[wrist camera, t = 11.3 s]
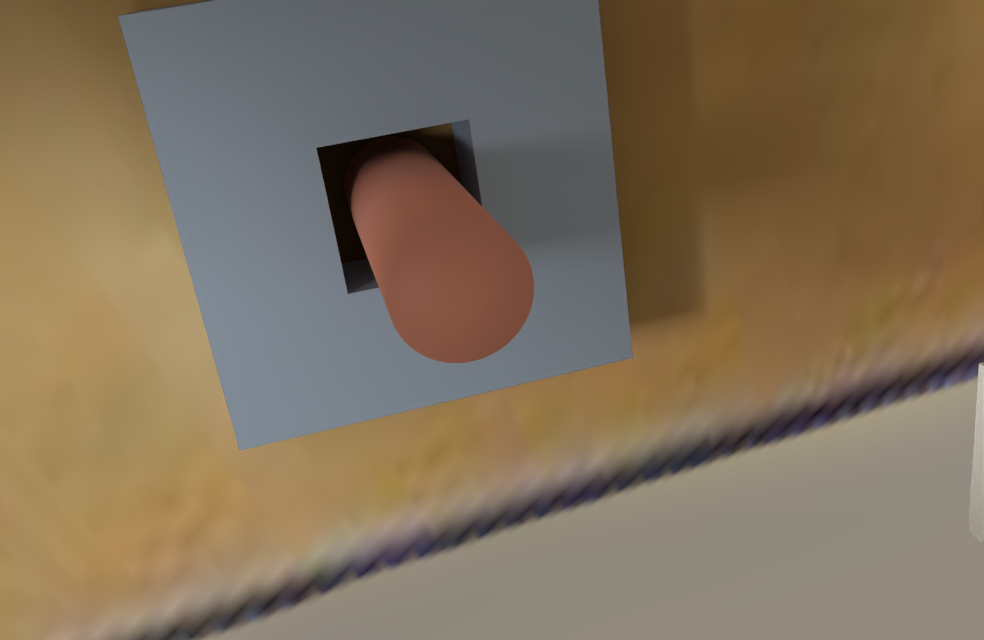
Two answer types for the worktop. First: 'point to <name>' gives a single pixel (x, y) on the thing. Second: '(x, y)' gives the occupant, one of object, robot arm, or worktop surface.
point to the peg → (436, 254)
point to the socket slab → (365, 114)
